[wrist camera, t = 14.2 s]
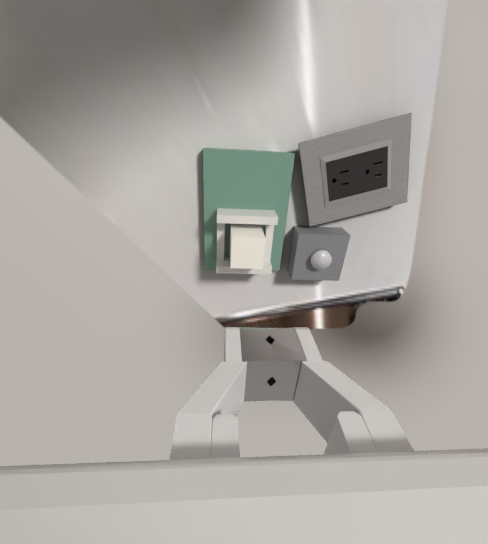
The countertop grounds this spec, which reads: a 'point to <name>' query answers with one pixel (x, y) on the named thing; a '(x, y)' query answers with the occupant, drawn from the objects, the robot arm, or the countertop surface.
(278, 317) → the countertop surface
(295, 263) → the grey push button
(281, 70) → the countertop surface
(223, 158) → the board
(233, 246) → the plug
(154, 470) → the robot arm
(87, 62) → the countertop surface
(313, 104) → the countertop surface
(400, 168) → the electrical outlet
